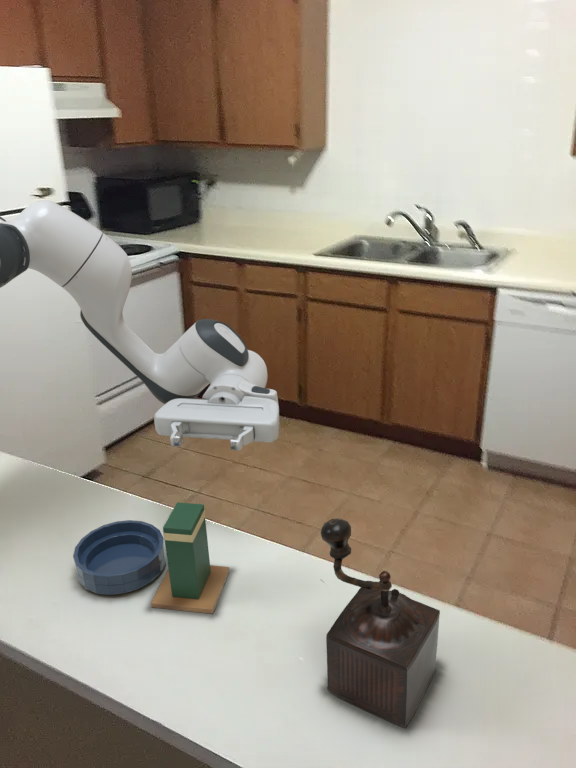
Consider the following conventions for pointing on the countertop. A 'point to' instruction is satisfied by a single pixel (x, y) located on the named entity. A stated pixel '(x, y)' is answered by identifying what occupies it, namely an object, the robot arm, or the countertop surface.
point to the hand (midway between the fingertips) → (204, 444)
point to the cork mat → (195, 605)
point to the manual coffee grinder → (379, 642)
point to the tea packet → (187, 550)
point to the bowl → (120, 557)
